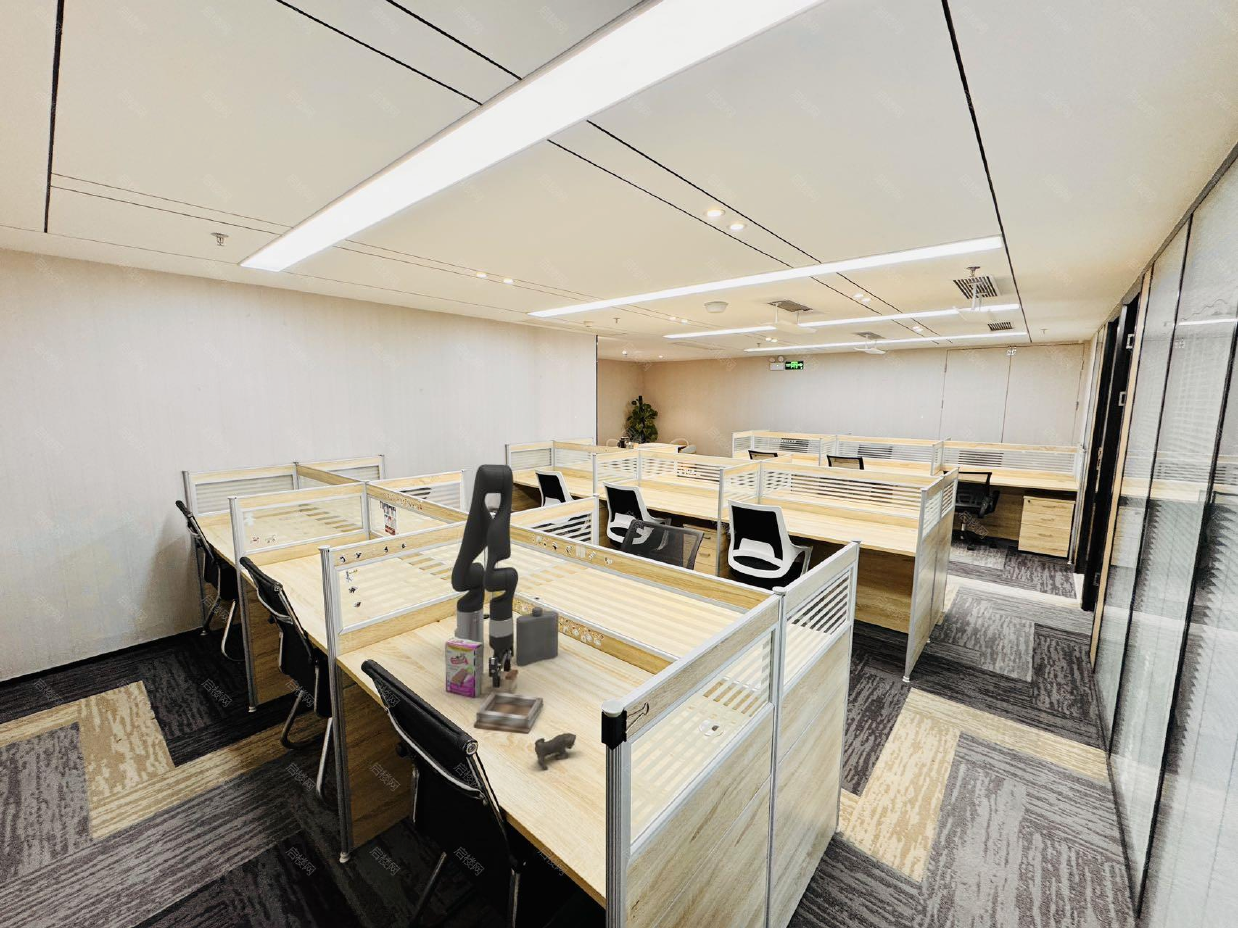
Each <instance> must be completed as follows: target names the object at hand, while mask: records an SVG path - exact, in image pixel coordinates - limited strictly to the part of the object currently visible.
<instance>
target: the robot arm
mask: <svg viewBox="0 0 1238 928" xmlns="http://www.w3.org/2000/svg"><path fill="white" fill-rule="evenodd" d="M472 489H473V490H472V495H471V496H472V497H471V498H472V499H471V503H470V508H469V512H468V516H467V519H466V523H465V525H464V531H463V534H462V540H461V545H460V548H459V552H458V555H457V556H456V559H455V563H454V565H453V568H452V570H451V571H452V572H451V575H450V576H451V578H450V579H451V580H450V583H451V586H452V589H453V590H454V591H455V592H458V593H464V592H467V593H466V594H464V595H463V596H461V597H459V599H458V600H457V601H456V628H455V630H454V637H458V638H463V639H467V640H472V641H477V642H481V643H483V653H484V652H485V651H484V648H485V645H484V641H485V638H484V635H485V634H484V631H485V630H484V629H485V628H484V626H485V625H484V619H485V618H484V603H485V599H486V598H485V597H486V591H487V593H495V592H496V593H497V592H503V593H502V594H501V595H498V596H497V595H496V596H495V597H493V598H491V600H490V601H489V605H488V606H489V622H488V645H489V647H490V648H491V649H492V650H493V654H492V656H490V657H489V658H488V669H489V677H493V687H494V688H499V687H500V673H501V671H506V672H509V671H510V670H511V669H512V667H511V665H512V664H511V662H512V660H513V658H514V656H515V655H514V653H515V650H514V643H515V641H514V640H515V639H514V637H515V635H514V630H515V628H514V625H515V624H514V623H515V622H514V617H513V615H514V613H513V610H514V608H513V603H514V597H515V593H516V590H517V585H518V582H519V573H518V571H517V569H516V568H515V567H514V566H513V567H512V566H506V567H505V566H504V567H496V564H497V563H499V562H501V561H505V560H508V559H509V558H511V555H512V549H511V547H512V546H511V517H512V515H511V514H512V504H513V492H514V473H513V470H512V468H511V466H510V465H507V464H481V465H479V466H478V467H477V470H476V472H475V478H474V484H473V488H472ZM488 494H500V503H499V505H498V508H497V511H496V513H495V515H494V517H492V514H491V512H490V510H489V508H488V506H487V504H486V497H487V495H488ZM486 548H487V559H486V560H487V561H486V566H485V567H484V565H483V564H482V563H481V562H479V561H478V562H477V561H476V562H475V560H476V559H477V558H478V557H479V556H480V555H481V554H482V553H483V552H484V551H485V550H486ZM502 669H503V670H502Z"/></svg>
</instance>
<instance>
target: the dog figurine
mask: <svg viewBox="0 0 1238 928" xmlns="http://www.w3.org/2000/svg"><path fill="white" fill-rule="evenodd" d="M576 739H577V735H576V734H573V733H571V732H567V733H565V732H564V733H562V734H558V735H556V736H555V737H553V738H552V739H549V740H548V741H546V739H545V738H543V737H541V738H539V739H537V740H535V742H534V745H535V747H534V752H535V754H536V756H537V757H536V758H537V764H538V765H539V766H540V767H541V768H542V769H543V770H545V771H549V767H547V766H546V764H545V762H544V760H545V758H546V757H547V756H550V755H551V756H552V755H554V754H556V753H558V754H557V755H555V756H554V758H555V759H556V760H557V761H558V760H559V761H560V760H566V759H568V757H569V753H568V752H567V750H566V748H567V749H568V750H572V748H573V745H574V744H575V742H576Z"/></svg>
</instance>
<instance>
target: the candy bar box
mask: <svg viewBox="0 0 1238 928" xmlns="http://www.w3.org/2000/svg"><path fill="white" fill-rule="evenodd" d="M444 643H445V646H444V648H445V691H446V692H448V693H454V694H456V695H462V696H464V697H467V698H468V697H469V698H474V699H476V697H478V696H479V695H480V694H482V693H481V676H482V675H483V674H484V670H485V669H484V652H483V643H481V642H477V641H472V640H467V639H463V638H458V637H455V636H453V637H452V638H450V639H449V640H447V641H446V642H444Z"/></svg>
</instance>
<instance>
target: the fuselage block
mask: <svg viewBox="0 0 1238 928" xmlns="http://www.w3.org/2000/svg"><path fill="white" fill-rule="evenodd" d="M518 674H519V669H513V668H511V670H510V671H509V672H506V671H503V670H501V673H500V687H499V688H494V687H493V677H489V668H488V669H486V670H485V672H483V675H482V676H481V693H480V694H484V695H490V694H491V693H492V692H501V693H509V694H515V691H516V690H517V689H518Z"/></svg>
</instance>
